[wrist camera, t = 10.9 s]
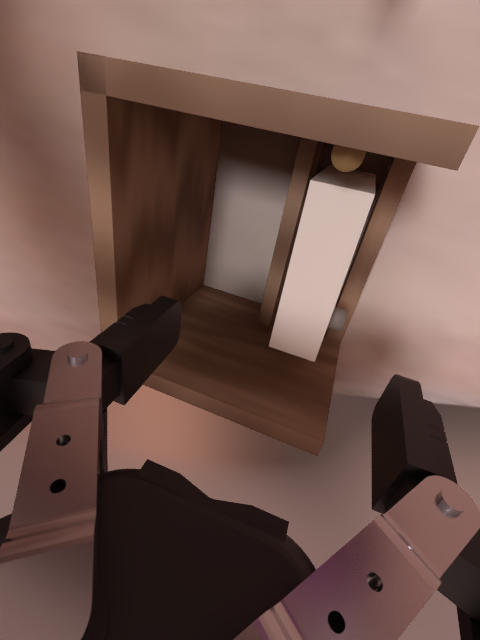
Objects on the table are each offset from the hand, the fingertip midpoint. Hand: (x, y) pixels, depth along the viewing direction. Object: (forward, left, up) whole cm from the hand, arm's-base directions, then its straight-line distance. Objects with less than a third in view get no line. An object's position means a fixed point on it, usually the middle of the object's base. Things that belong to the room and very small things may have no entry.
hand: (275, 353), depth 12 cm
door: (0, 0, -15) cm, 15 cm away
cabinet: (0, -3, -15) cm, 15 cm away
